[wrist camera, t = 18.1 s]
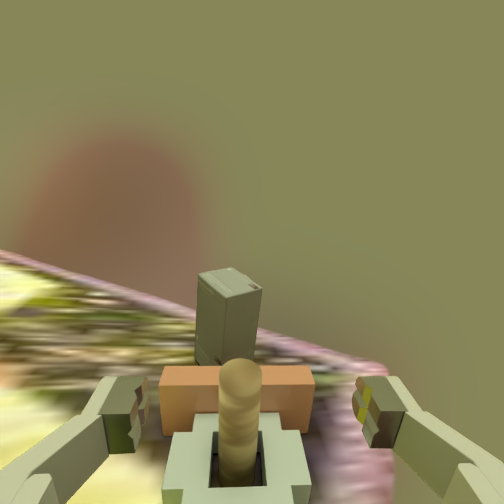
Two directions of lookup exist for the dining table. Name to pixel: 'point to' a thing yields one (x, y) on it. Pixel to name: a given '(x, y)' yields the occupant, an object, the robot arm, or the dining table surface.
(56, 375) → the dining table surface
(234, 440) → the dowel
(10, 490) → the robot arm
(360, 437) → the dining table surface
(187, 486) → the block
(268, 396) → the wall
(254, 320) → the skincare box
